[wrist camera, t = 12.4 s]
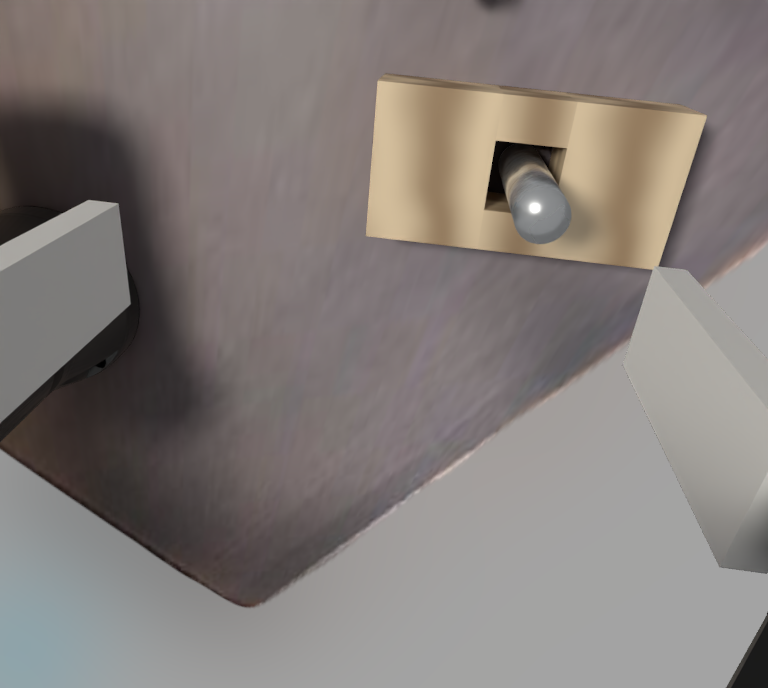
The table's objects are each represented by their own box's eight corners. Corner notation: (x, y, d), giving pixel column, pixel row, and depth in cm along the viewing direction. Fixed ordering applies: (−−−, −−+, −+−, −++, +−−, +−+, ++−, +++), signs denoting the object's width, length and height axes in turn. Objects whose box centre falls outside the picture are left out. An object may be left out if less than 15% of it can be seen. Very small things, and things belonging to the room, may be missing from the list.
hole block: (373, 215, 47) (365, 236, 43) (385, 73, 42) (377, 80, 38) (637, 245, 46) (657, 270, 42) (680, 104, 41) (707, 115, 37)
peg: (494, 182, 45) (508, 240, 34) (502, 140, 44) (520, 186, 32) (535, 187, 45) (564, 247, 34) (544, 145, 43) (577, 193, 32)
